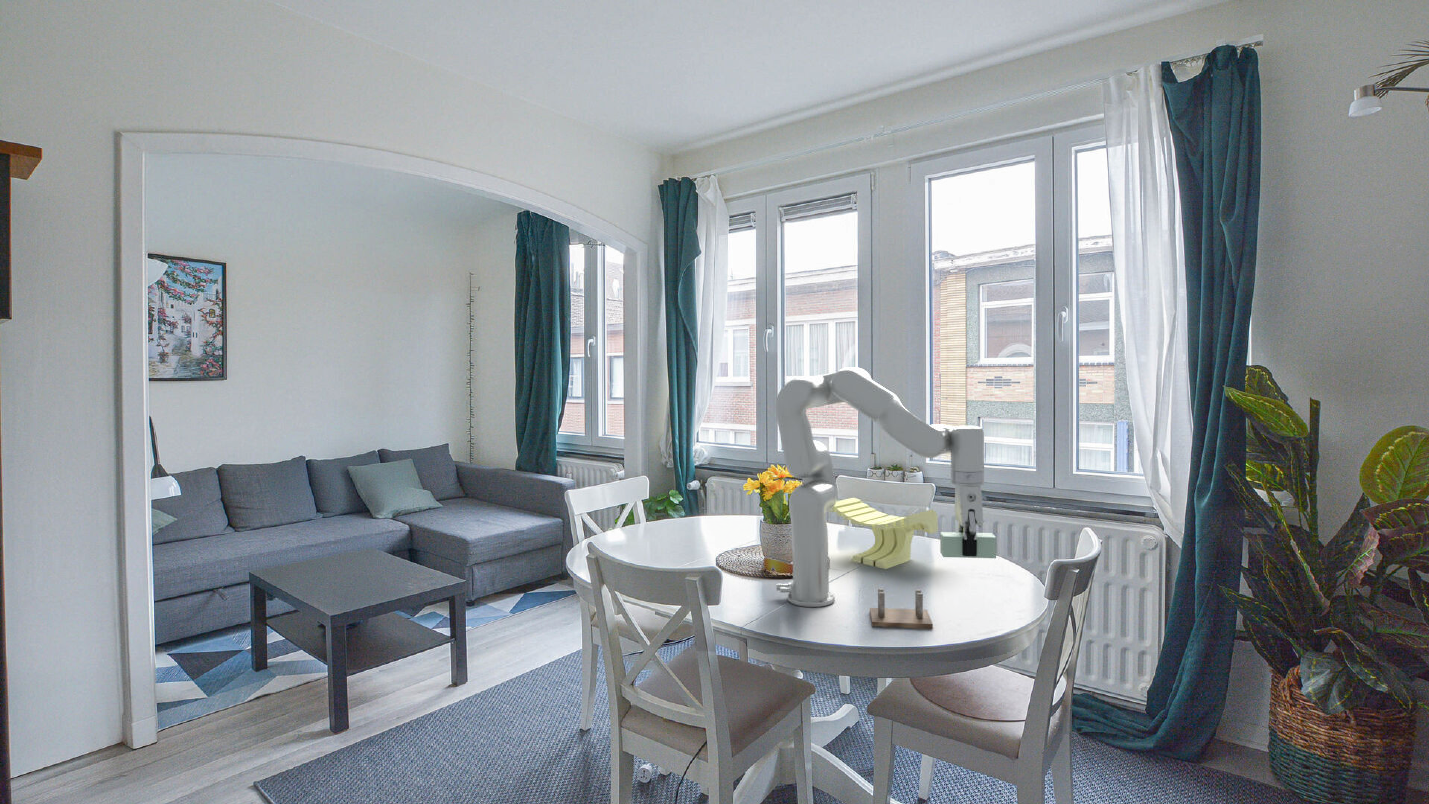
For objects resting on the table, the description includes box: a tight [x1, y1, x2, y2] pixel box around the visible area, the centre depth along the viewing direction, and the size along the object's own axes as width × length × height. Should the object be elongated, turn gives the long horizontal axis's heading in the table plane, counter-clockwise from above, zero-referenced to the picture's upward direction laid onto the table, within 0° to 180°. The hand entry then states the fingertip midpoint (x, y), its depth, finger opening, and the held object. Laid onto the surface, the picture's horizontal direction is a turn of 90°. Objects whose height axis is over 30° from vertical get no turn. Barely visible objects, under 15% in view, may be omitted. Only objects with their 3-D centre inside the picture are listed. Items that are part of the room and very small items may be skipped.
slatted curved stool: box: [829, 497, 939, 570], centre depth 228 cm, size 30×16×18 cm, turn 42°
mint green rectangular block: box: [939, 531, 997, 559], centre depth 171 cm, size 4×12×5 cm, turn 81°
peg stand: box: [869, 588, 934, 630], centre depth 174 cm, size 14×10×7 cm
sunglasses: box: [763, 556, 793, 574], centre depth 220 cm, size 14×15×5 cm
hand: (967, 552), depth 171 cm, fingers closed on mint green rectangular block, 4 cm apart
